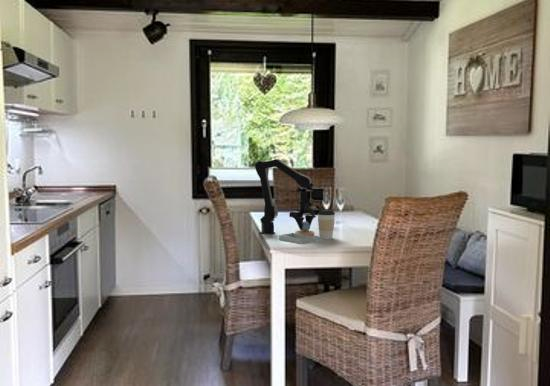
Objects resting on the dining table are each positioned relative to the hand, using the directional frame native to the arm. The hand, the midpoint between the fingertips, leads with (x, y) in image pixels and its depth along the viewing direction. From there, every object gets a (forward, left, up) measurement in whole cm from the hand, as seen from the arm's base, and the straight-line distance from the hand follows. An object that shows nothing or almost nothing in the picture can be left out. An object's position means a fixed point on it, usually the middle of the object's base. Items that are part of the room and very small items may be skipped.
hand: (304, 229), depth 282 cm
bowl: (0, 0, -3) cm, 3 cm away
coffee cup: (+12, +3, -4) cm, 13 cm away
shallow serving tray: (+6, -13, -3) cm, 15 cm away
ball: (0, 0, -1) cm, 1 cm away
